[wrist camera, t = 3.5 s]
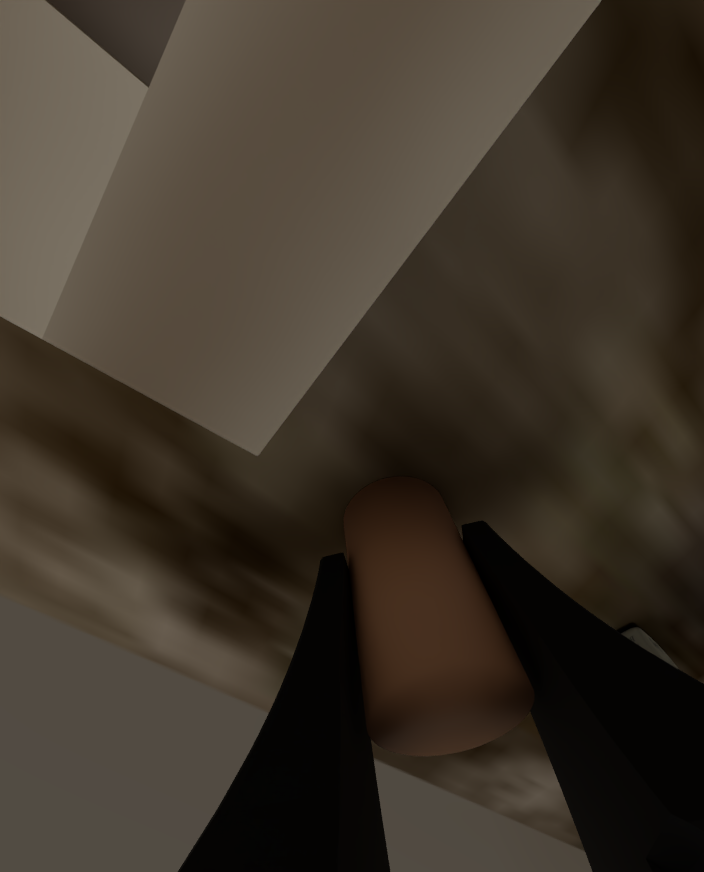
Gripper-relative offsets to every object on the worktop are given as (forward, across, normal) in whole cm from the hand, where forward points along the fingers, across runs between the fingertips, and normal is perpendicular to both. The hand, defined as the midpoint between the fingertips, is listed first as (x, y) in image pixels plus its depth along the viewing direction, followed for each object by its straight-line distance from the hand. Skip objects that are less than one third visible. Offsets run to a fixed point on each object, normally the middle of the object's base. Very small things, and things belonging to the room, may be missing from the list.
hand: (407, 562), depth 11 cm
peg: (+2, 0, 0) cm, 2 cm away
